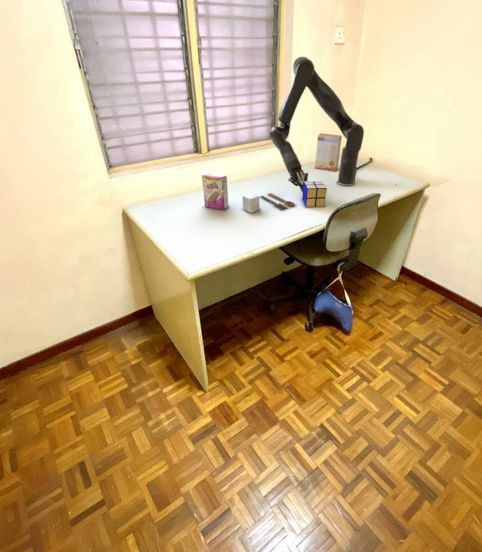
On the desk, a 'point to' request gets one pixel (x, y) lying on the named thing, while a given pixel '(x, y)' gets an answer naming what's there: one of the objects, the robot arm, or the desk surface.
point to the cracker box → (328, 151)
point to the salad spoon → (287, 203)
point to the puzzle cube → (314, 193)
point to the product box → (251, 202)
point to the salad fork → (274, 203)
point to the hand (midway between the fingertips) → (305, 191)
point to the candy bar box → (215, 190)
